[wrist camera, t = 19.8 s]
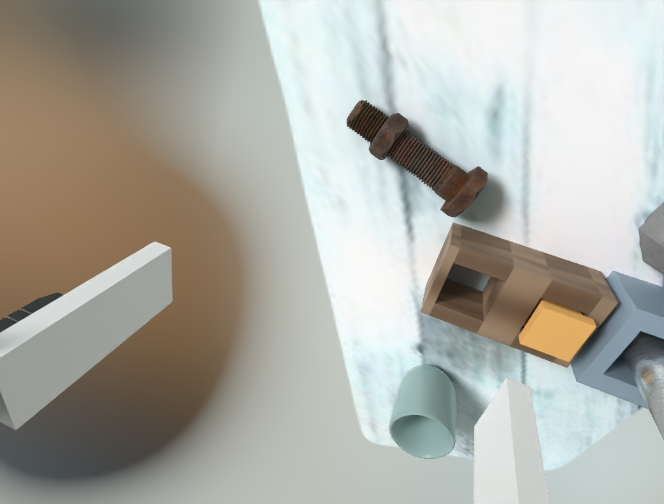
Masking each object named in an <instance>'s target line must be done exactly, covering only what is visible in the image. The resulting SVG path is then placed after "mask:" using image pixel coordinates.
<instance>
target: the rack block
mask: <svg viewBox="0 0 664 504" xmlns="http://www.w3.org/2000/svg"><path fill="white" fill-rule="evenodd" d="M606 282H607V284H608V286H609V287H610V289H611V291H612V293H613V294H614V296H615V298H616V299H617V301H618V304H617V305H616V306H615V307H614V309H613V310H612V311H611V312H610V314H609V315H608V316H607V318H606V319H605V320H604V321H603V323H602V324H601V325H600V326H599V328H598V329H597V330H596V332H595V333H594V334H593V335H592V337H591V338H590V339H589V340H588V342H587V343H586V344H585V346H584V347H583V348H582V349H581V351H580V352H579V353H578V354H577V356H576V357H575V358H574V360H573V361H572V362H571V365H572V369H573V372H574V375H575V378H576V381H577V382H579V383H582V384H584V385H587V386H590V387H592V388H595V389H597V390H600V391H603V392H605V393H608V394H611V395H613V396H616V397H618V398H621V399H624V400H626V401H629V402H631V403H634V404H637V405H639V406H642V407H644V408H647V409H648V407H647V405H646V403H645V400H644V398H643V396H642V394H641V392H640V390H639V388H638V386H637V384H636V382H635V380H634V378H633V376H632V374H631V372H630V370H629V368H628V366H627V364H626V362H625V360H624V358H623V356H622V354H621V353H622V352H623V351H624V349H625V348H626V347H627V346H628V345H629V344H630V343H631V341H632V340H633V339H634V338H635V337H636V336H637V335H638V333H639V332H640V331H642V332H645V333H648V334H651V335H654V336H657V337H659V338H662V339H664V288H663V287H660V286H657V285H654V284H651V283H648V282H645V281H642V280H639V279H636V278H633V277H630V276H627V275H624V274H621V273H618V272H615V271H613V272H612V273H611V274H610V276H609V277H608V278H607V280H606Z"/></svg>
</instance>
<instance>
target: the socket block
mask: <svg viewBox="0 0 664 504" xmlns="http://www.w3.org/2000/svg"><path fill="white" fill-rule="evenodd" d="M453 263H455V264H458V265H461V266H463V267H466V268H469V269H472V270H475V271H478V272H481V273H483V274H486V275H489V276H491V277H490V279H489V281H488V283H487V285H486V287H485V288H484V290H483V292H482V291H479V290H476V289H474V288H471V287H468V286H465V285H462V284H460V283H457V282H454V281H451V280H449V279H446V278H447V275H448V273H449V271H450V269H451V267H452V265H453ZM540 298H544V299H546V300H549V301H552V302H555V303H558V304H561V305H563V306H566V307H569V308H572V309H575V310H578V311H580V312H581V313H582V315H583V316H586V317H589V318H592V319H593V320H594V322H595V324H596V326H597V327H596V328H595V329H594V331H593V332H592V333H591V334H590V336H589V337H588V338H587V340H586V341H585V342H584V343H583V345H582V346H581V347H580V349H579V350H578V351H577V352H576V354H575V355H574V356H573V358H572V359H571V360H570V361H569V362H567V361H565V360H562V359H559V358H557V357H554V356H551V355H549V354H546V353H543V352H541V351H538V350H535V349H533V348H530V347H527V346H525V345H522V344H520V342H519V335H520V333H521V332H522V330H523V329H524V323H525V322H526V320H527V318H528V317H529V315H530V314H531V312H532V311H533V309H534V308H535V306H536V304H537V303H538V301H539V300H540ZM617 304H618V301H617V299H616V298H615V296H614V294H613V293H612V291H611V289H610V287H609V286H608V284H607V282H606V280H605V279H604V277H603V275H602V274H601V272H600V271H598V270H595V269H591V268H588V267H585V266H582V265H579V264H576V263H573V262H570V261H567V260H564V259H561V258H558V257H555V256H552V255H549V254H546V253H543V252H540V251H537V250H534V249H531V248H528V247H525V246H522V245H519V244H516V243H513V242H510V241H507V240H504V239H501V238H498V237H495V236H492V235H489V234H486V233H483V232H480V231H477V230H474V229H471V228H468V227H465V226H462V225H459V224H456V223H453V224H452V226H451V228H450V231H449V233H448V235H447V238H446V240H445V242H444V245H443V247H442V249H441V252H440V254H439V256H438V259H437V261H436V263H435V266H434V268H433V270H432V273H431V275H430V277H429V280H428V282H427V284H426V289H425V293H424V298H423V303H422V308H421V312H422V313H424V314H427V315H430V316H432V317H435V318H438V319H440V320H443V321H446V322H448V323H451V324H453V325H456V326H459V327H461V328H464V329H467V330H469V331H472V332H475V333H477V334H480V335H482V336H485V337H488V338H490V339H493V340H496V341H498V342H501V343H503V344H506V345H509V346H511V347H514V348H517V349H519V350H522V351H525V352H527V353H530V354H532V355H535V356H538V357H540V358H543V359H546V360H548V361H551V362H554V363H556V364H559V365H561V366H564V367H568V366H569V365H570V363H571V362H572V361H573V360H574V358H575V357H576V356H577V354H578V353H579V352H580V351H581V349H582V348H583V347H584V346H585V344H586V343H587V342H588V340H589V339H590V338H591V337H592V335H593V334H594V333H595V332H596V330H597V329H598V328H599V326H600V325H601V324H602V323H603V321H604V320H605V319H606V318H607V316H608V315H609V314H610V312H611V311H612V310H613V309H614V307H615V306H616V305H617Z"/></svg>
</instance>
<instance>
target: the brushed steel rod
mask: <svg viewBox="0 0 664 504" xmlns="http://www.w3.org/2000/svg"><path fill="white" fill-rule="evenodd" d="M621 354H622V356H623V358H624V360H625V362H626V364H627V366H628V368H629V370H630V372H631V374H632V376H633V378H634V380H635V382H636V384H637V386H638V388H639V390H640V392H641V394H642V396H643V398H644V400H645V403H646V405H647V407H648V409H649V411H650V413H651V414H652V417H653V419H654V420H655V423H656V425H657V427H658V429H659V431H660V433H661V435H662V437H663V439H664V339H662V338H659V337H657V336H654V335H651V334H648V333H645V332H642V331H640V332H639V333H638V335H637V336H636V337H635V338H634V339H633V340H632V341H631V343H630V344H629V345H628V346H627V347H626V348H625V349H624V351H623V352H622V353H621Z"/></svg>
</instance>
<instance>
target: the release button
mask: <svg viewBox="0 0 664 504" xmlns="http://www.w3.org/2000/svg"><path fill="white" fill-rule="evenodd" d="M596 327H597V326H596V324H595V322H594V320H593V319H592V318H589V317H586V316H583V315H582V313H581V312H580V311H578V310H575V309H572V308H569V307H566V306H563V305H561V304H558V303H555V302H552V301H549V300H546V299H544V298H540V300H539V301H538V303H537V304H536V306H535V308H534V309H533V311H532V312H531V314H530V315H529V317H528V318H527V320H526V322H525V323H524V329H523V330H522V332H521V333H520V335H519V342H520V344H522V345H525V346H527V347H530V348H533V349H535V350H538V351H541V352H543V353H546V354H549V355H551V356H554V357H557V358H559V359H562V360H565V361H567V362H569V361H570V360H571V359H572V358H573V356H574V355H575V354H576V352H577V351H578V350H579V349H580V347H581V346H582V345H583V343H584V342H585V341H586V340H587V338H588V337H589V336H590V334H591V333H592V332H593V331H594V329H595V328H596Z"/></svg>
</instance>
